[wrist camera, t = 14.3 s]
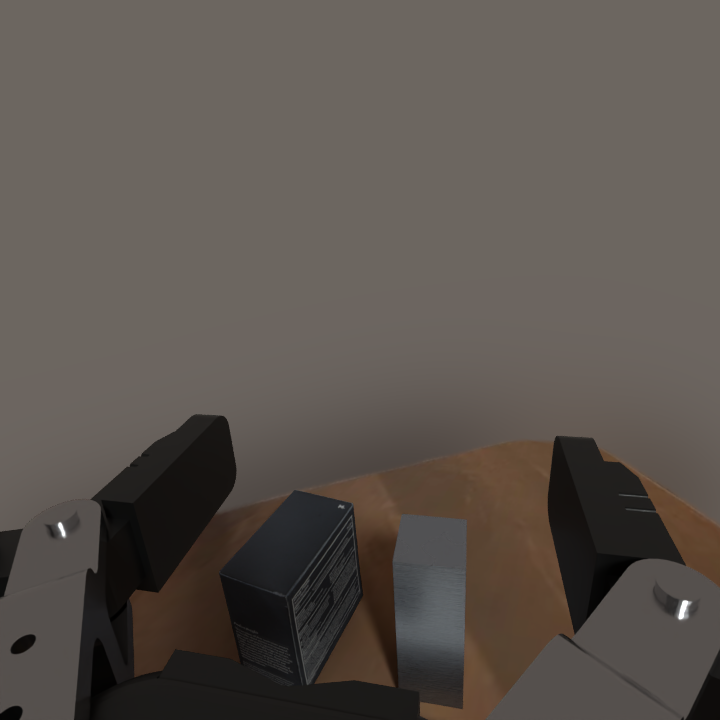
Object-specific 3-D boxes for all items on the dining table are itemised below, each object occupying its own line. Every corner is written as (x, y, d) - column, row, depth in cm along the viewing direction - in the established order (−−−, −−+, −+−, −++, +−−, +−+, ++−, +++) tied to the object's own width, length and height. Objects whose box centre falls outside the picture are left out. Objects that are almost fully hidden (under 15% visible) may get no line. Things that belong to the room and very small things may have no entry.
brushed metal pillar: (399, 697, 35) (392, 561, 31) (406, 641, 39) (401, 513, 35) (462, 708, 34) (466, 569, 30) (463, 650, 38) (466, 519, 34)
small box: (305, 574, 47) (293, 485, 43) (365, 594, 44) (358, 501, 40) (236, 670, 38) (213, 568, 34) (306, 703, 35) (289, 597, 32)
